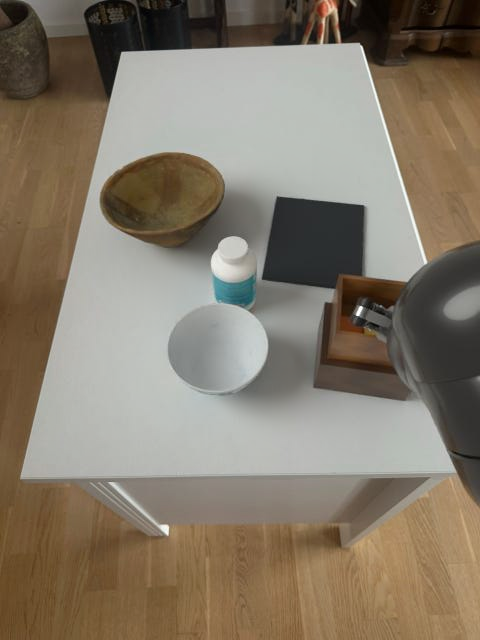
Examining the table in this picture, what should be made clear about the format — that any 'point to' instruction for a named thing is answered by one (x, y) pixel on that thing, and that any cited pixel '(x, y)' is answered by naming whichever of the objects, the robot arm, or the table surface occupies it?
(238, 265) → the pill bottle
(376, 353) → the wooden box
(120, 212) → the bowl
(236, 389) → the chinaware
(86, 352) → the table surface
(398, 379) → the stand
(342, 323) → the orange packet
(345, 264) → the mat
